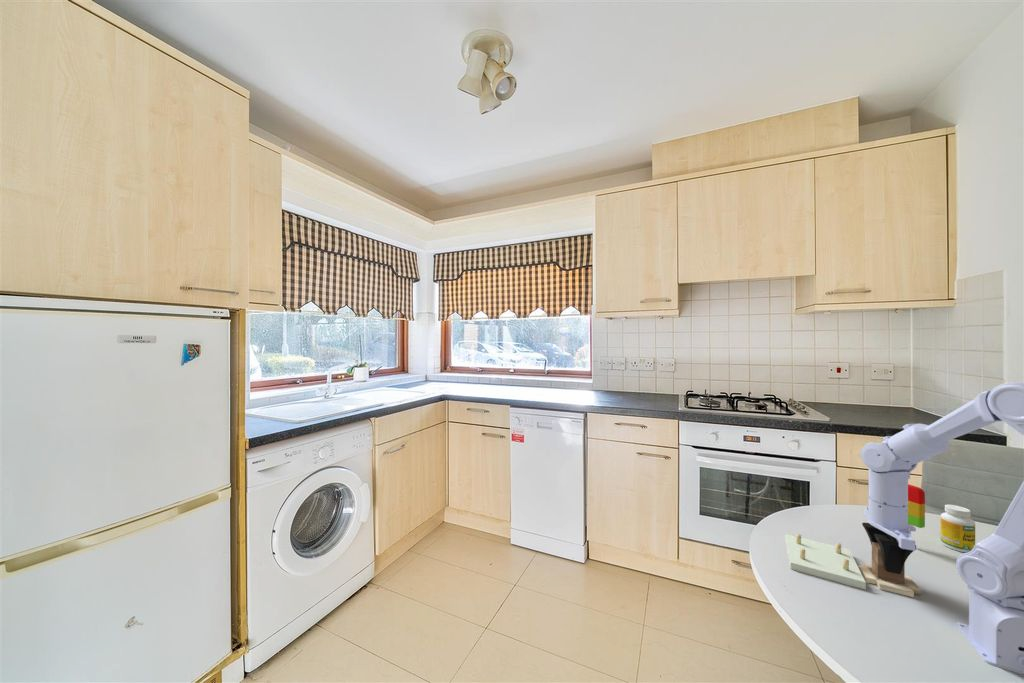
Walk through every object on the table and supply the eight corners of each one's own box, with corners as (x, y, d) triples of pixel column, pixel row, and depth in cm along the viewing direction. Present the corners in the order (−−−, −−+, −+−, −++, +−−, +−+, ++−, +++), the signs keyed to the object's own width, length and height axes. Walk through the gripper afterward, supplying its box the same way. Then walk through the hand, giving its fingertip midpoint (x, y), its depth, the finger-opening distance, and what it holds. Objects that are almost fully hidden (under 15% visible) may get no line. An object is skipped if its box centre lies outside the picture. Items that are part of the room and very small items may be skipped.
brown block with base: (925, 600, 70) (925, 563, 70) (869, 586, 74) (869, 552, 74) (904, 576, 77) (905, 543, 77) (854, 565, 81) (855, 533, 81)
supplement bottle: (949, 540, 91) (950, 502, 91) (981, 552, 86) (981, 511, 86) (934, 542, 90) (934, 504, 90) (965, 555, 85) (965, 514, 85)
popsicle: (890, 540, 91) (891, 480, 91) (895, 539, 91) (896, 480, 91) (920, 553, 86) (921, 489, 86) (925, 552, 86) (926, 488, 86)
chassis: (865, 589, 73) (865, 572, 73) (790, 569, 79) (790, 553, 79) (849, 555, 85) (849, 540, 85) (784, 540, 91) (784, 526, 91)
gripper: (937, 520, 67) (937, 594, 67) (894, 491, 80) (893, 552, 80) (887, 513, 70) (886, 583, 70) (852, 486, 83) (852, 545, 83)
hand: (887, 566), depth 75 cm, fingers closed on brown block with base, 3 cm apart
